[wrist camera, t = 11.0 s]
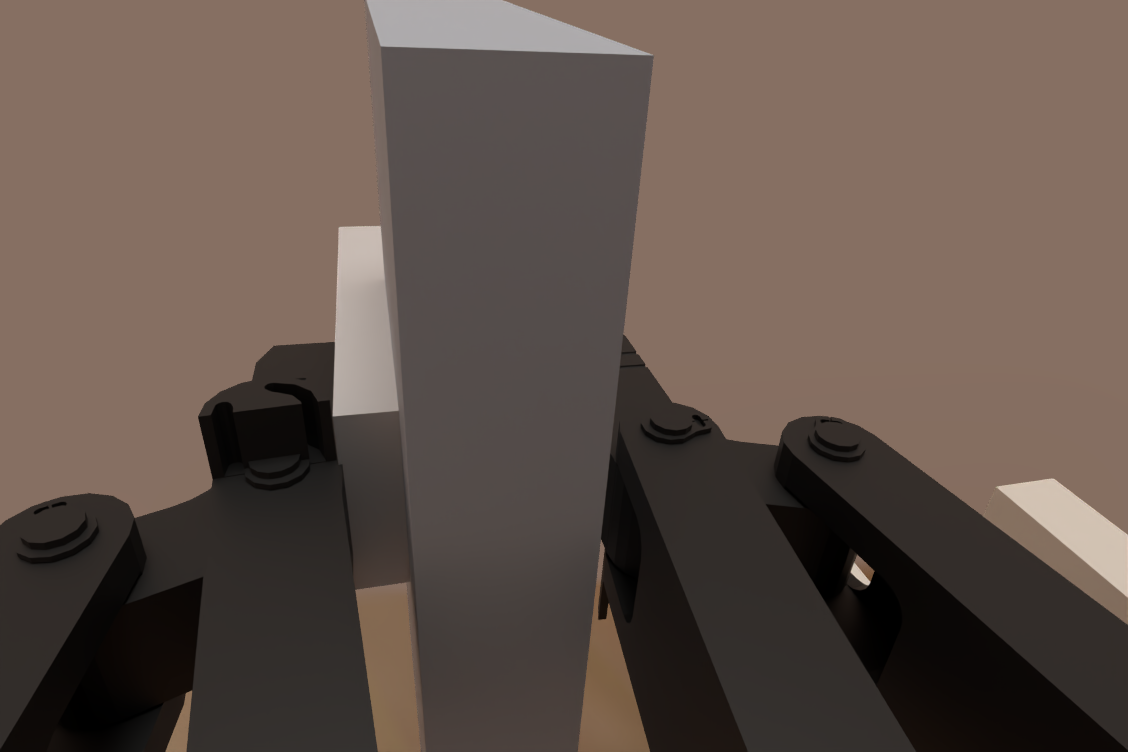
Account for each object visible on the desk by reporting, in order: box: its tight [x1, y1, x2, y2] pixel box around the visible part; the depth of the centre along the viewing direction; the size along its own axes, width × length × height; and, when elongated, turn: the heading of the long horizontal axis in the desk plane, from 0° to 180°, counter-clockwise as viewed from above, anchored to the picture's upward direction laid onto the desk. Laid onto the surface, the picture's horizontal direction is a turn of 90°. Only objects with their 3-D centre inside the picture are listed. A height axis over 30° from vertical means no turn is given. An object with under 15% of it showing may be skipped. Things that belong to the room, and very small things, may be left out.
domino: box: [983, 479, 1128, 625], centre depth 19 cm, size 2×6×12 cm, turn 14°
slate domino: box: [364, 0, 654, 752], centre depth 10 cm, size 2×6×12 cm, turn 14°
